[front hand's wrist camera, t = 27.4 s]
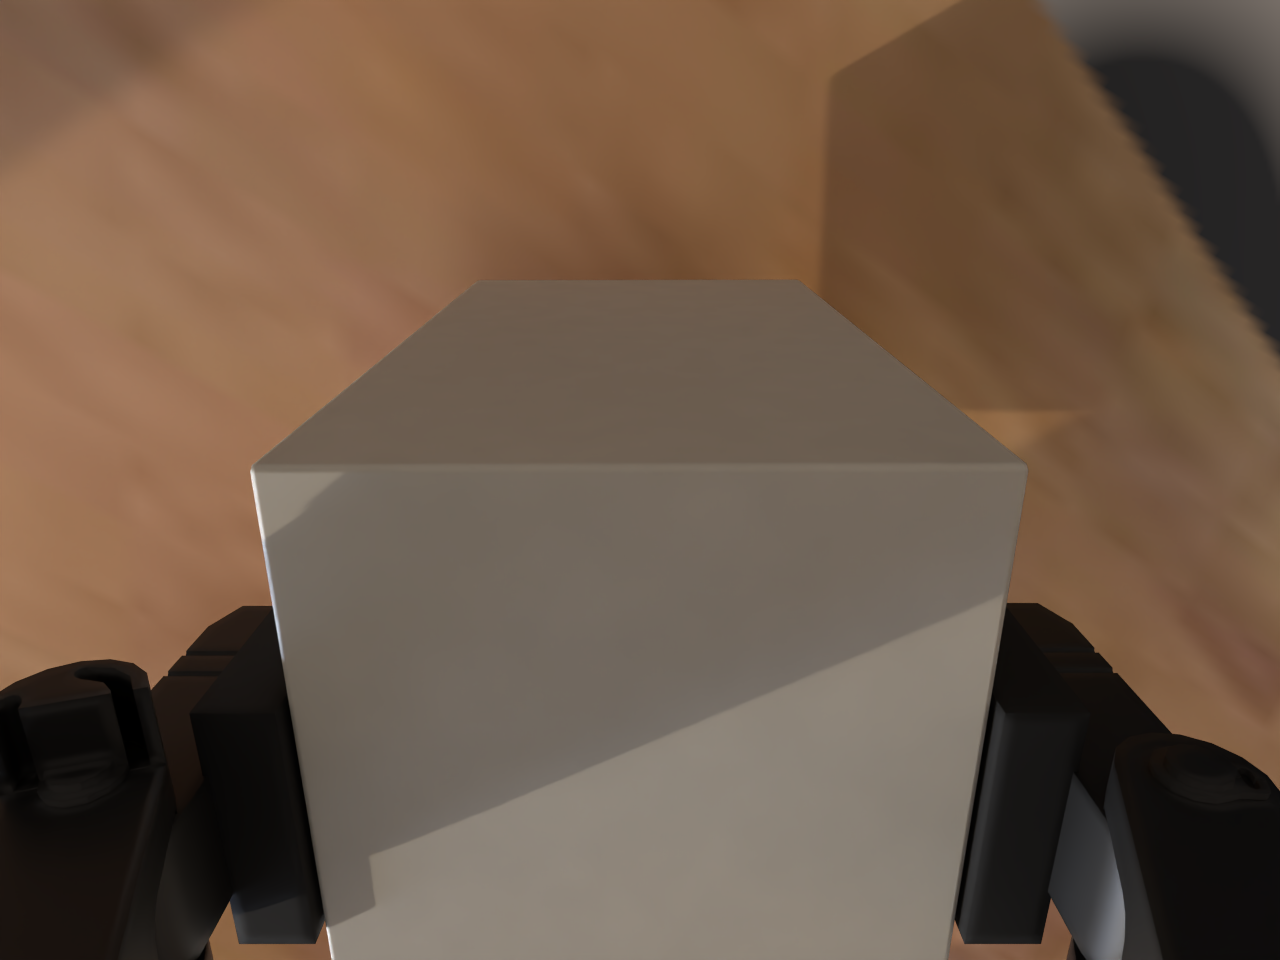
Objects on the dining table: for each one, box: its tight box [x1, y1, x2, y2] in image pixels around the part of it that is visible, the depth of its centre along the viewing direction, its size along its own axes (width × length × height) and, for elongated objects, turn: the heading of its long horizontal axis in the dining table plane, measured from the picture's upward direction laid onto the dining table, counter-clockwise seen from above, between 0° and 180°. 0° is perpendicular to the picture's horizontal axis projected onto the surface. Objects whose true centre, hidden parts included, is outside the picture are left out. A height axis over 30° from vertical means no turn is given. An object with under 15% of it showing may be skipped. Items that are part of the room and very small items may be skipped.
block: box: [251, 280, 1028, 960], centre depth 13 cm, size 7×6×11 cm
